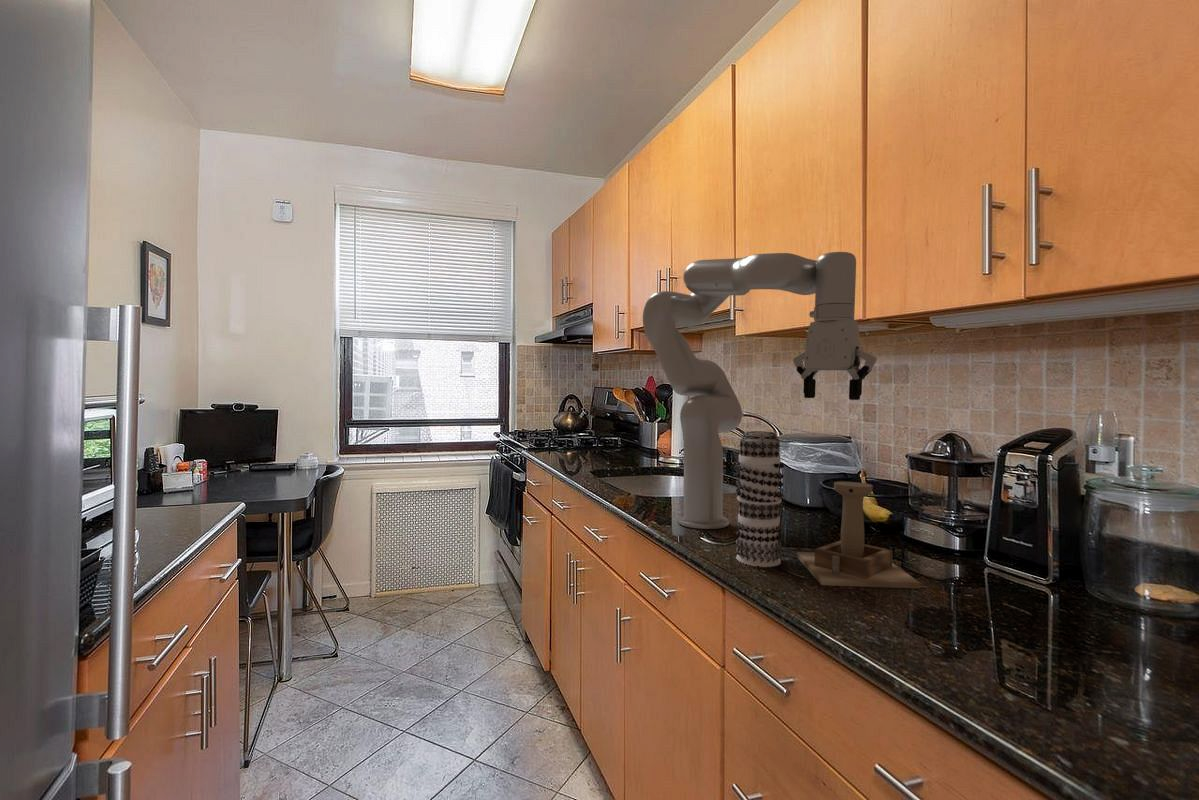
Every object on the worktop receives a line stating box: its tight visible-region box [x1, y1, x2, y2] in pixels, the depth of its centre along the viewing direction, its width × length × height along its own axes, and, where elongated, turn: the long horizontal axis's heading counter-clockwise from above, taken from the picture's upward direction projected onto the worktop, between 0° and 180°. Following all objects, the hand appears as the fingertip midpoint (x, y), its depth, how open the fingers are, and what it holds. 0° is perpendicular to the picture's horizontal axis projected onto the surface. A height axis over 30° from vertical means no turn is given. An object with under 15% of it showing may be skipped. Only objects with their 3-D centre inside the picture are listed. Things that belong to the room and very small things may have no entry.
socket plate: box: [796, 539, 921, 590], centre depth 103 cm, size 16×16×4 cm
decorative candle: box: [734, 430, 785, 568], centre depth 109 cm, size 9×9×25 cm
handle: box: [833, 481, 873, 558], centre depth 103 cm, size 5×6×15 cm
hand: (831, 398), depth 115 cm, fingers open, 9 cm apart
